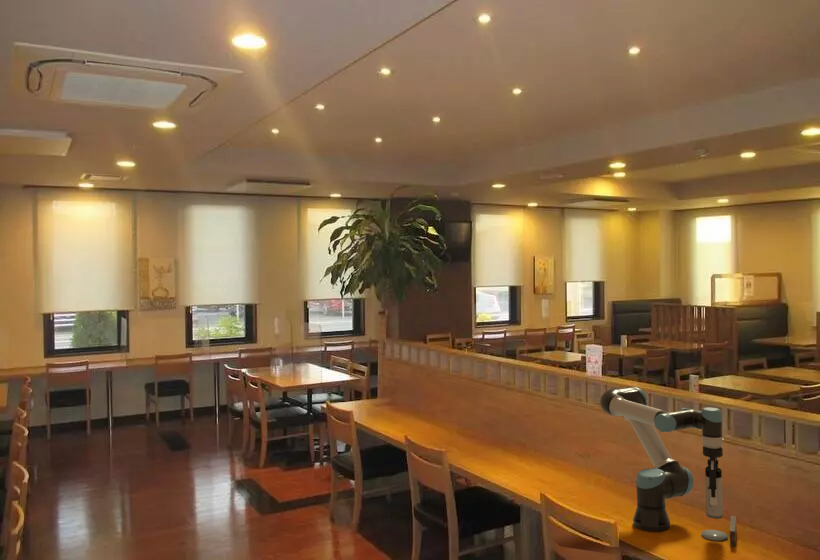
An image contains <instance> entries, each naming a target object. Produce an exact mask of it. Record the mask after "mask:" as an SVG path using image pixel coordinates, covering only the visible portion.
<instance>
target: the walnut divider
mask: <svg viewBox="0 0 820 560" xmlns="http://www.w3.org/2000/svg"><path fill="white" fill-rule="evenodd" d="M736 545H737V516H736V515H730V523H729V546H730V547H737V546H736Z"/></svg>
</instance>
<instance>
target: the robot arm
mask: <svg viewBox="0 0 820 560" xmlns="http://www.w3.org/2000/svg"><path fill="white" fill-rule="evenodd" d="M599 403H600V405H599V406H600V408H601V409H602V411H603V412H604V413H606V414H607V415H610V416H612V417H613V416H614V417H617V418H618V417H623V419H624V421H628V422H629V423H630V425H631V427H632V428H633V430H634V432H635V434H636V436H637V437H638V440H639V441H640V443H641V445H642V446H643V448H644V450H645V452H646V454H647V455H648V458H649V460H650V461H651V464H653V466H654V467H652V468H644V469H641V470H639V471H638V473H637V474H636V481H635V485H636V508H635V511H634V515H633V518H632V519H633V526H634V527H635V526H636V527H635V528H637V529H639V530H641V531H645V530H646V532H652V531H655V532H654V533H656V532H658V533H660V532H666V531H669V529H671V519H670V517H669V514H668V512H667V509H666V500H668V499H669V500H670V499H672V498H676V497H677V498H678V497H684V496H685V495H687V494H689V493H691V491H692V490H693V487H694V478H693V474H692V473H691V471H690V469H688V468H686V467H685V466H681V464H680V463H679V460H676V459H673V457H672V455H671V454H670V452H669V451H668V449H667V446H666V445H665V444H664V441H663V440H662V438H661V436H660V435H659V433H658V431H659V432H661V433H670V432H671V433H672V432H675V431H679V430H687V429H692V428H693V429H698V430H701V431H702V432H701V434H702V435H701V437H702V438H701V439H702V442H701V443H702V445H703V446H702V455H703V456H705V457H707V467H708V471H709V487H708V489H710V505H717V488H716V472H717V469H718V468H719V458H721V457H723V454H724V452H723V451H724V450H723V442H724V441H725V440H724V438H723V415H722V411H721V409H719V408H717V407H710V406H709V407H703V408H702V409H701V410H698V409H693V408H691V407H688V408H687V407H682V408H680V409H679V410H678V411H666V410H663V409H659V408H657V407H652V406H649V405H648V398H647V395H646V393H645V392H644V390H643V389H641V388H639V387H638V386H637V387H636V386H626V387H621V388H613V389H612V388H611V389H608V390H606V391H604V392H603V394H602V395H601V396H600V400H599ZM656 429H657V430H658V431H657V430H656Z"/></svg>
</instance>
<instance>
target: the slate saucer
mask: <svg viewBox="0 0 820 560" xmlns="http://www.w3.org/2000/svg"><path fill="white" fill-rule="evenodd" d="M700 533H701V534H700V535H701V537H702V538H704V539H706V540H708V541H713V542H724V541H726V540H728V539H729V535H728V534H727V533H726V532H724V531H722V530H721V531H720V530H718V529H716V530H715V529H705V530H702V531H701V532H700Z"/></svg>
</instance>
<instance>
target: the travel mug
mask: <svg viewBox="0 0 820 560" xmlns="http://www.w3.org/2000/svg"><path fill="white" fill-rule="evenodd" d="M704 469H705V470H704V471H705V476H704V477H705V478H704V479H705V483H704V484H705V511H706V514H705V515H706V517H707V518H710V519H713V520H715V519H716V520H719V519H723V517H724V515H723V513H724V512H723V511H724V507H723V506H724V505H723V475H722V472H723V471H722V469H721V468H719V467H718V469H717V472H716V488H717V505H710V489H708V487H709V471H708V466H706V467H705V468H704Z"/></svg>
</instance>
